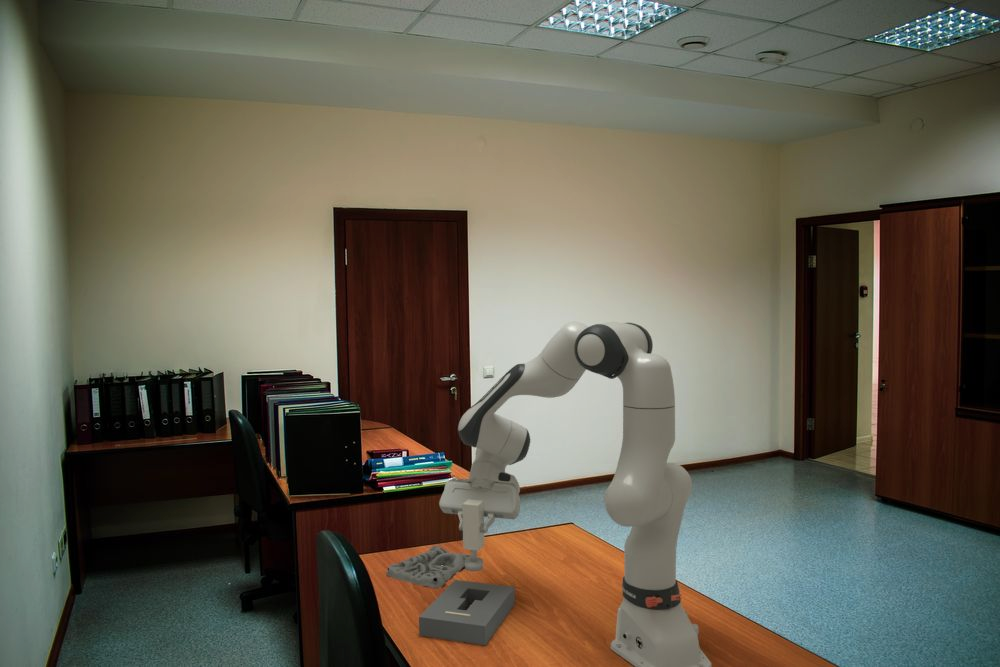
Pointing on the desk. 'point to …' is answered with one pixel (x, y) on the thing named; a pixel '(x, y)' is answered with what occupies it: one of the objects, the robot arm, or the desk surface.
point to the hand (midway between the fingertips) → (472, 530)
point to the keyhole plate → (467, 612)
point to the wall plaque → (429, 567)
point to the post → (473, 532)
